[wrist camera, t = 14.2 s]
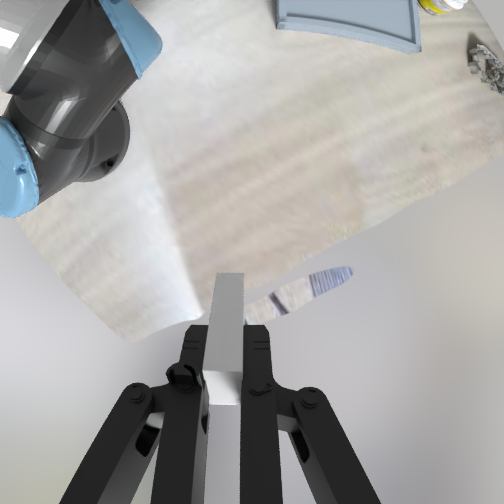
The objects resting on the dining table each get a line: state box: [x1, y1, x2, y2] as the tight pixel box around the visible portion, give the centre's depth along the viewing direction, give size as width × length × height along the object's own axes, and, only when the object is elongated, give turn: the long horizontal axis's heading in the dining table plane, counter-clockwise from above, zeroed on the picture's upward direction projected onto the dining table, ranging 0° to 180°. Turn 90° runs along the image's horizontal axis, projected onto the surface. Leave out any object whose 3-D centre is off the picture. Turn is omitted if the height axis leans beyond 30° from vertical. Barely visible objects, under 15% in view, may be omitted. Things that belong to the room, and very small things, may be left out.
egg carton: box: [468, 44, 504, 96], centre depth 27 cm, size 11×8×4 cm
